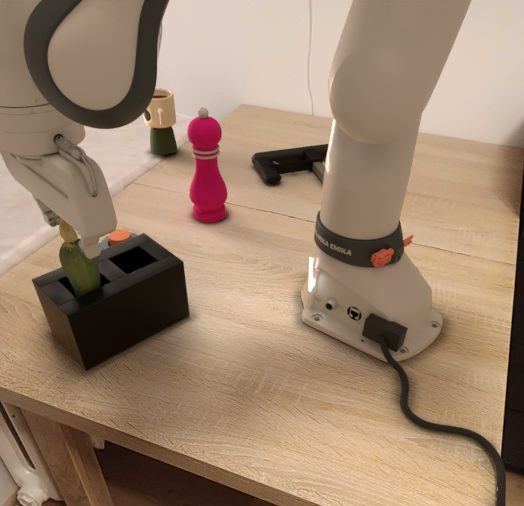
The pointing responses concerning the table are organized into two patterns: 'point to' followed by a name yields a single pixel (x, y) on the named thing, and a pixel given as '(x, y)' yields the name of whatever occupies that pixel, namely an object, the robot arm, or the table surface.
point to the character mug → (161, 122)
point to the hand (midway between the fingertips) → (72, 238)
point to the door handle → (290, 162)
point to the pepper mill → (206, 169)
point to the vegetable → (77, 262)
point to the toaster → (116, 301)
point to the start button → (118, 236)
